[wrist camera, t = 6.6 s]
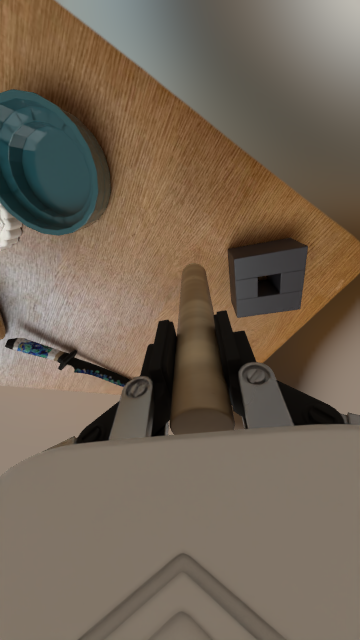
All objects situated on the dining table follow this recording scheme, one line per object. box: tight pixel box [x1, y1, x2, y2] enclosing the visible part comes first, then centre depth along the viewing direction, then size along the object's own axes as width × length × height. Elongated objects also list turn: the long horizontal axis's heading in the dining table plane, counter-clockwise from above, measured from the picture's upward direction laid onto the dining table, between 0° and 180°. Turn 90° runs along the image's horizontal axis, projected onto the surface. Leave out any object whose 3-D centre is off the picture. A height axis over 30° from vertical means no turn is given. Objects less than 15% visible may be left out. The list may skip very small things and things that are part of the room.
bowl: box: [0, 89, 111, 236], centre depth 29 cm, size 14×14×6 cm
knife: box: [5, 338, 130, 387], centre depth 49 cm, size 31×3×4 cm, turn 53°
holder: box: [228, 238, 308, 318], centre depth 35 cm, size 10×10×6 cm
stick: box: [170, 263, 235, 435], centre depth 15 cm, size 2×2×16 cm
